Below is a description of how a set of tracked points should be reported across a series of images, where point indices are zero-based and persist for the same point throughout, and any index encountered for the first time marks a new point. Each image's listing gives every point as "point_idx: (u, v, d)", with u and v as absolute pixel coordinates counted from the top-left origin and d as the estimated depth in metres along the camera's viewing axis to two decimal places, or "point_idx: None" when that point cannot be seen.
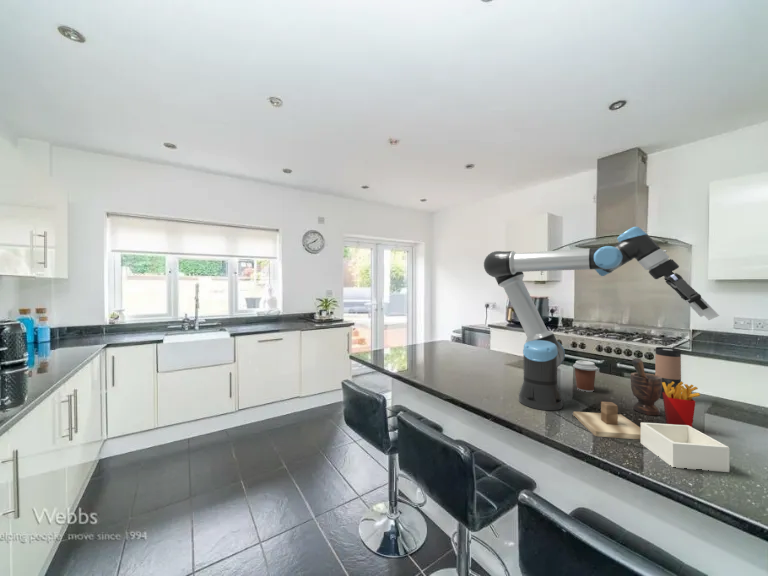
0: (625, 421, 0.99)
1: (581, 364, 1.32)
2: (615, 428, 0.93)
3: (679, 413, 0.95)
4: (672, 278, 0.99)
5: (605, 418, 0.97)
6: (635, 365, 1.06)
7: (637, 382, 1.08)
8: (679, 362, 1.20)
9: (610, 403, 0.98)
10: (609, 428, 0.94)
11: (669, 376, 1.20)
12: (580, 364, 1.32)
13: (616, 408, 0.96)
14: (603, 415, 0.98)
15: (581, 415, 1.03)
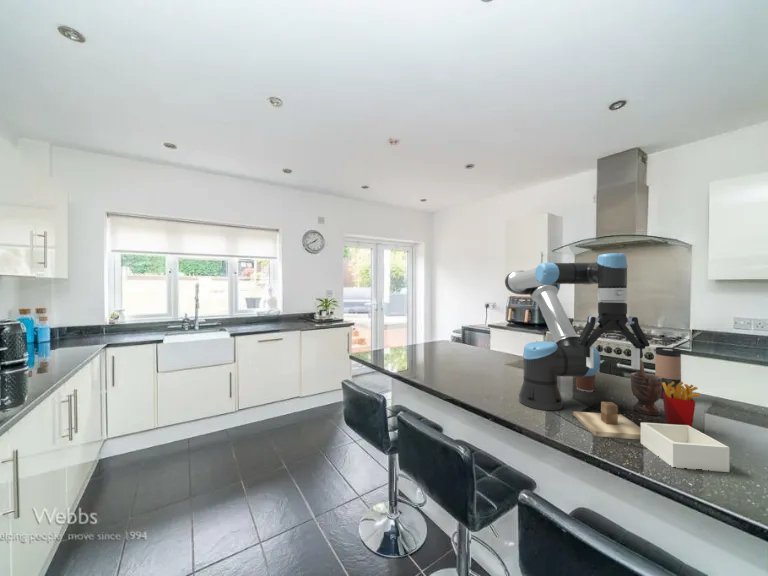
0: (625, 421, 0.99)
1: None
2: (615, 428, 0.93)
3: (679, 413, 0.95)
4: (588, 319, 0.99)
5: (605, 418, 0.97)
6: None
7: (637, 382, 1.08)
8: (679, 362, 1.20)
9: (610, 403, 0.98)
10: (609, 428, 0.94)
11: (669, 376, 1.20)
12: None
13: (616, 408, 0.96)
14: (603, 415, 0.98)
15: (581, 415, 1.03)
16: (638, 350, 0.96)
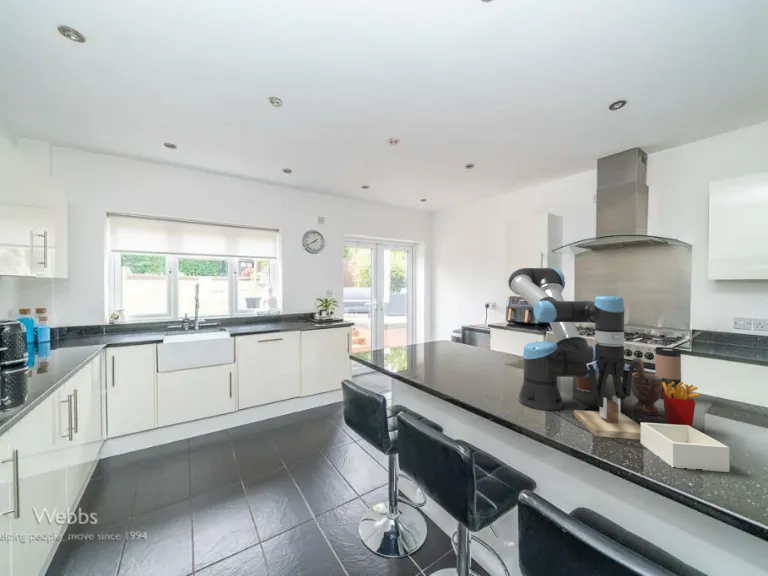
0: (626, 419, 0.98)
1: None
2: (615, 427, 0.93)
3: (679, 413, 0.95)
4: (587, 367, 0.99)
5: None
6: (635, 365, 1.06)
7: (637, 382, 1.08)
8: (679, 362, 1.20)
9: (611, 401, 0.98)
10: (610, 426, 0.94)
11: (669, 376, 1.20)
12: None
13: (617, 406, 0.96)
14: None
15: (582, 413, 1.03)
16: (619, 400, 0.96)
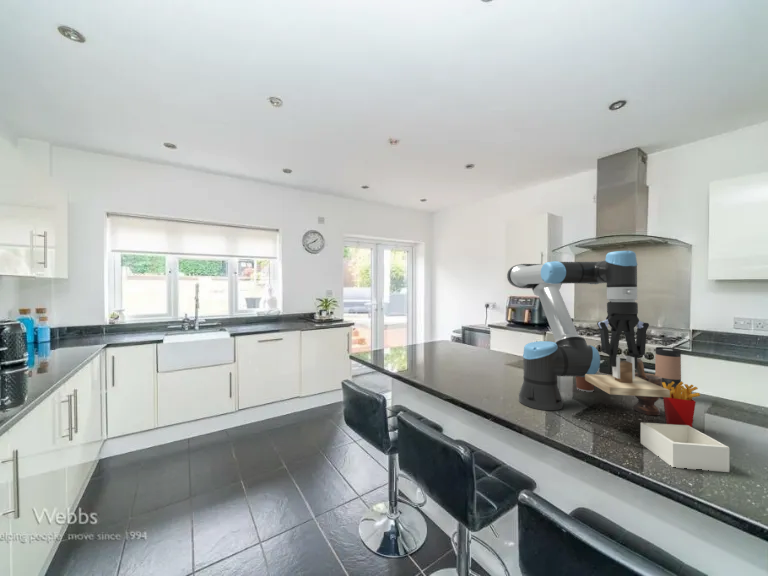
0: (641, 380, 0.94)
1: None
2: (629, 385, 0.89)
3: (679, 413, 0.95)
4: (598, 325, 0.96)
5: None
6: None
7: None
8: (679, 362, 1.20)
9: (624, 361, 0.94)
10: (624, 385, 0.89)
11: (669, 376, 1.20)
12: None
13: (630, 365, 0.92)
14: None
15: (594, 376, 0.99)
16: (633, 359, 0.92)
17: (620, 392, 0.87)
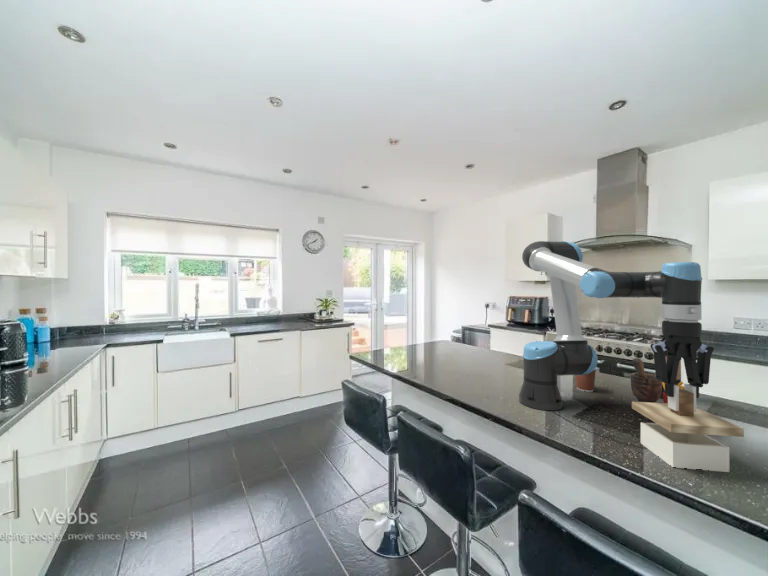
0: (701, 412, 0.81)
1: None
2: (693, 420, 0.76)
3: None
4: (653, 348, 0.82)
5: None
6: (635, 365, 1.06)
7: (637, 382, 1.08)
8: (679, 362, 1.20)
9: (683, 390, 0.81)
10: (686, 420, 0.76)
11: None
12: None
13: (692, 396, 0.79)
14: None
15: (644, 405, 0.86)
16: (694, 388, 0.79)
17: (684, 430, 0.74)
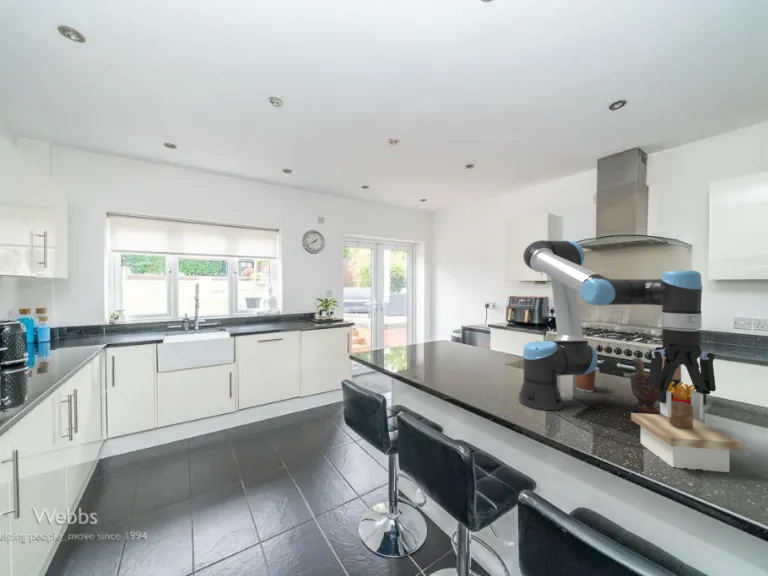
0: (700, 424, 0.81)
1: None
2: (692, 434, 0.76)
3: None
4: (651, 354, 0.82)
5: (677, 421, 0.80)
6: (635, 365, 1.06)
7: (637, 382, 1.08)
8: None
9: (682, 403, 0.81)
10: (685, 433, 0.76)
11: None
12: None
13: (691, 409, 0.79)
14: (673, 417, 0.81)
15: (643, 417, 0.86)
16: (701, 395, 0.79)
17: (683, 444, 0.74)
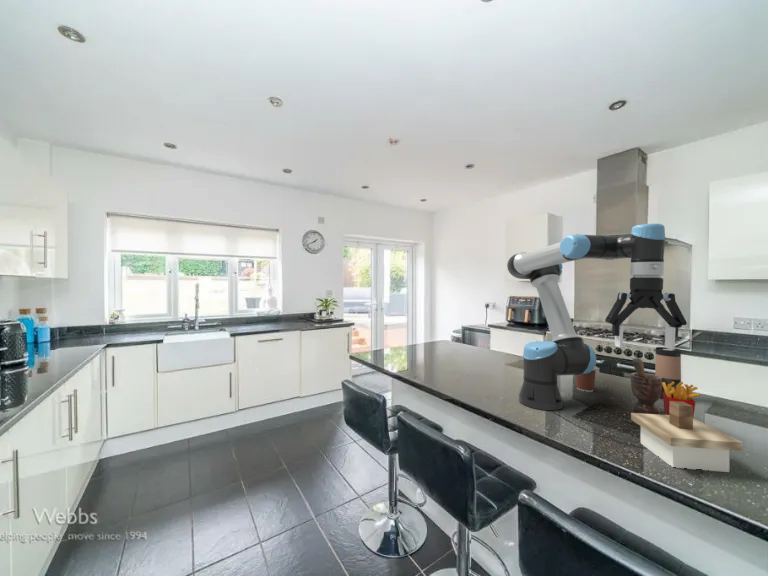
0: (700, 424, 0.81)
1: None
2: (692, 434, 0.76)
3: None
4: (618, 295, 0.92)
5: (677, 421, 0.80)
6: (635, 365, 1.06)
7: (637, 382, 1.08)
8: (679, 362, 1.20)
9: (682, 403, 0.81)
10: (685, 433, 0.76)
11: (669, 376, 1.20)
12: None
13: (691, 409, 0.79)
14: (673, 417, 0.81)
15: (643, 417, 0.86)
16: (673, 329, 0.89)
17: (683, 444, 0.74)
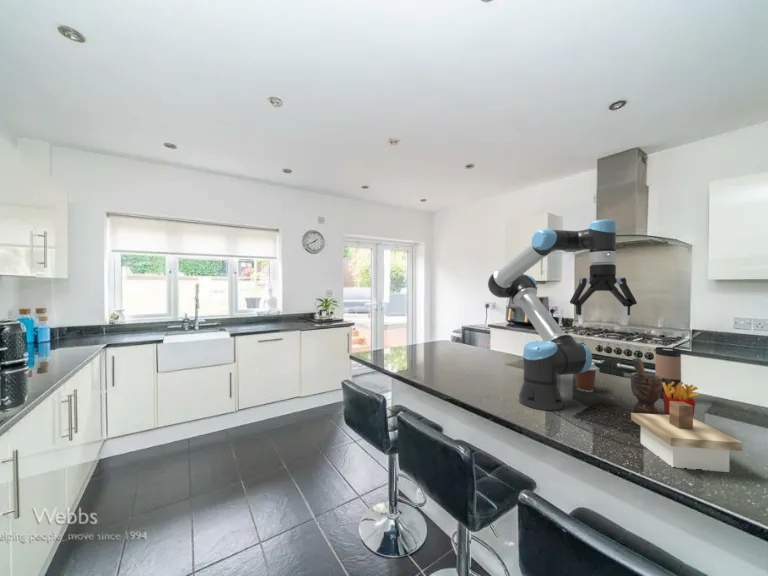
0: (700, 424, 0.81)
1: None
2: (692, 434, 0.76)
3: None
4: (580, 281, 1.09)
5: (677, 421, 0.80)
6: (635, 365, 1.06)
7: (637, 382, 1.08)
8: (679, 362, 1.20)
9: (682, 403, 0.81)
10: (685, 433, 0.76)
11: (669, 376, 1.20)
12: None
13: (691, 409, 0.79)
14: (673, 417, 0.81)
15: (643, 417, 0.86)
16: (626, 308, 1.05)
17: (683, 444, 0.74)
